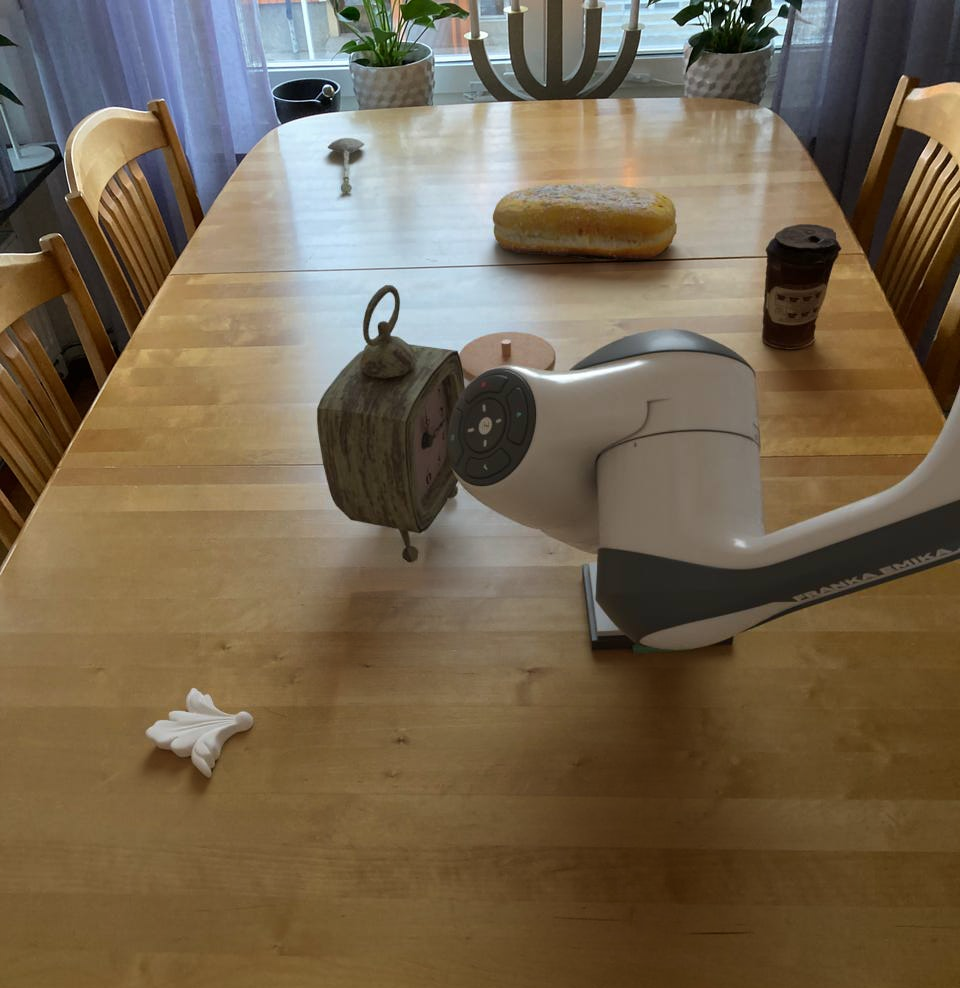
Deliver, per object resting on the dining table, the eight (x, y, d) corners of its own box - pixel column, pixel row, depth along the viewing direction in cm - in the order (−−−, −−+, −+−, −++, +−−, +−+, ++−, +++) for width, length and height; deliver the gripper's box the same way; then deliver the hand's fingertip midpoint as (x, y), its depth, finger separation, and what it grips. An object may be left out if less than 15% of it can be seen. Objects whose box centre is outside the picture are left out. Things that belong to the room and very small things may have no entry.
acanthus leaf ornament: (210, 781, 80) (203, 766, 79) (141, 756, 83) (134, 741, 81) (261, 714, 85) (256, 699, 84) (195, 692, 87) (189, 677, 86)
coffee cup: (830, 355, 121) (852, 249, 112) (760, 358, 121) (776, 253, 112) (814, 320, 127) (833, 217, 118) (747, 323, 127) (762, 221, 118)
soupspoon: (366, 149, 181) (330, 153, 181) (363, 129, 179) (326, 134, 179) (365, 191, 165) (326, 196, 165) (362, 169, 163) (322, 175, 163)
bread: (669, 271, 139) (674, 213, 133) (484, 262, 144) (481, 206, 138) (678, 230, 148) (683, 174, 142) (503, 223, 153) (501, 169, 148)
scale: (710, 582, 94) (714, 552, 91) (730, 663, 86) (736, 633, 84) (581, 588, 94) (582, 558, 91) (591, 669, 87) (592, 640, 84)
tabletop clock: (420, 577, 96) (388, 339, 79) (336, 559, 99) (287, 325, 81) (473, 489, 106) (455, 259, 88) (395, 476, 108) (362, 249, 91)
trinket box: (506, 453, 110) (502, 378, 103) (443, 416, 116) (436, 342, 109) (575, 415, 115) (576, 340, 108) (511, 381, 121) (509, 308, 114)
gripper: (471, 477, 77) (551, 515, 89) (697, 588, 67) (754, 614, 79) (506, 402, 76) (583, 450, 88) (741, 502, 66) (792, 542, 78)
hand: (665, 528), depth 83 cm, fingers closed on tumbler, 6 cm apart
